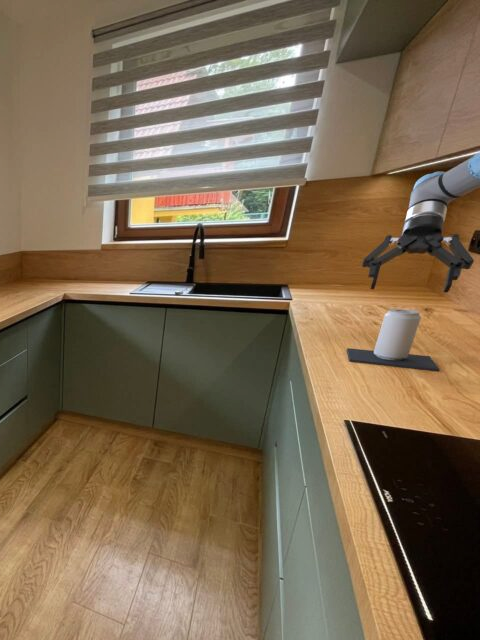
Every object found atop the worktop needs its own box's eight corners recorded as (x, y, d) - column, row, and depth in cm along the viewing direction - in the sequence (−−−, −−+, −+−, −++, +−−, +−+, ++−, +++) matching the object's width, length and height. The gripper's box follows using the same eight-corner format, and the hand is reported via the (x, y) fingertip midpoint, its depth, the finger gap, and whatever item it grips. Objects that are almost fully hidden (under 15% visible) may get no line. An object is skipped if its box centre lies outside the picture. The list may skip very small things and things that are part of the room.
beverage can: (400, 355, 110) (415, 308, 106) (411, 362, 104) (428, 313, 100) (368, 353, 112) (381, 307, 108) (378, 360, 107) (392, 312, 103)
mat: (428, 358, 108) (429, 356, 108) (439, 371, 100) (439, 369, 99) (346, 350, 118) (347, 348, 117) (349, 361, 109) (349, 359, 109)
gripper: (488, 232, 110) (476, 299, 104) (359, 234, 125) (343, 293, 120) (500, 210, 104) (488, 280, 99) (364, 215, 120) (347, 276, 115)
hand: (408, 287), depth 110 cm, fingers open, 13 cm apart
